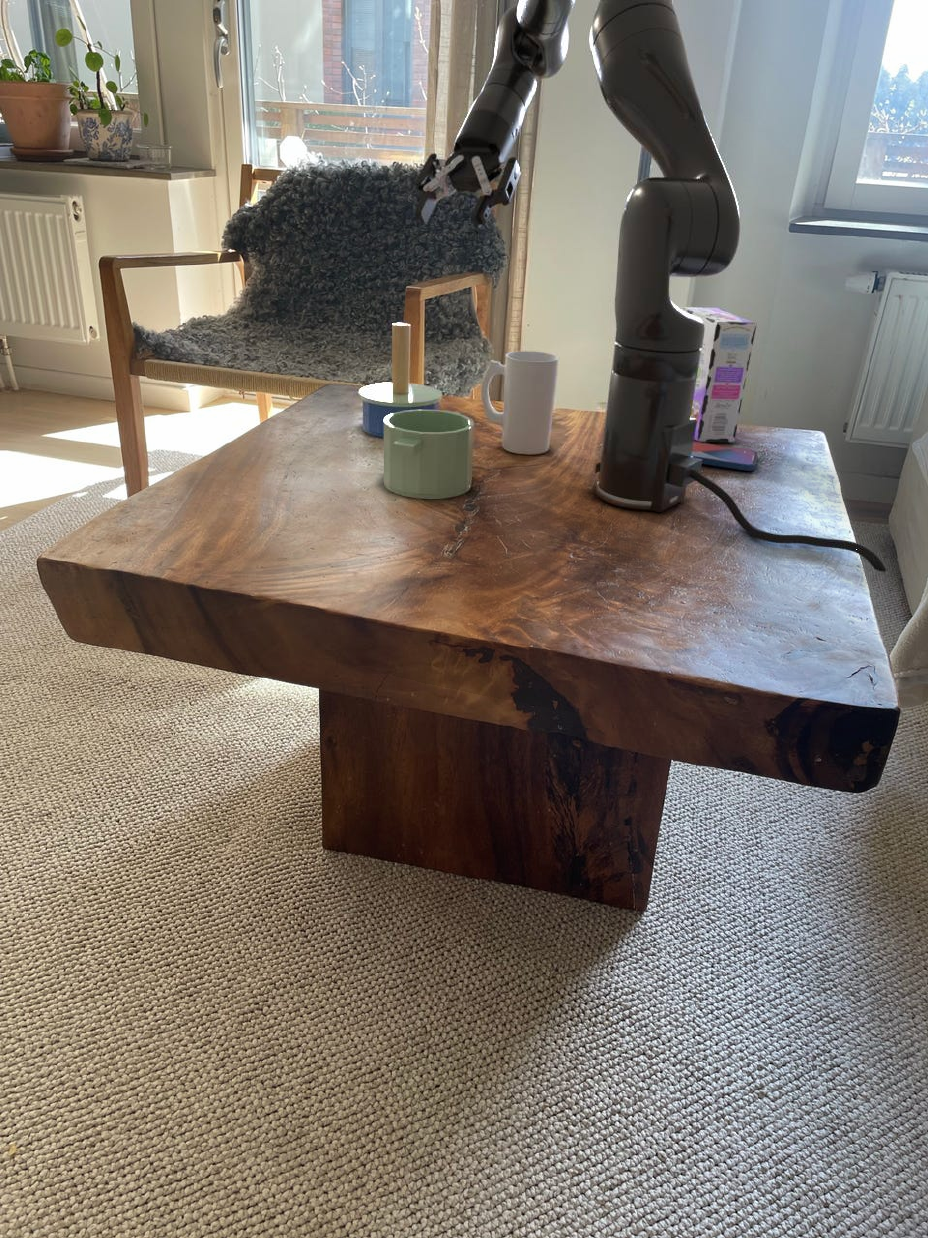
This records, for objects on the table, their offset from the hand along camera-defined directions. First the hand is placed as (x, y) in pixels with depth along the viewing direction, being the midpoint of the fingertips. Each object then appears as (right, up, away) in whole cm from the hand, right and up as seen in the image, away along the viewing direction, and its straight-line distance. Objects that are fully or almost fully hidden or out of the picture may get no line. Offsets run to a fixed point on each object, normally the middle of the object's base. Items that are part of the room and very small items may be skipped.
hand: (447, 221), depth 121 cm
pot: (-2, -39, -17) cm, 42 cm away
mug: (+9, -31, -2) cm, 33 cm away
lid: (-6, -24, +1) cm, 25 cm away
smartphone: (+33, -33, -3) cm, 47 cm away
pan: (-7, -28, +3) cm, 29 cm away
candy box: (+37, -27, +9) cm, 46 cm away
